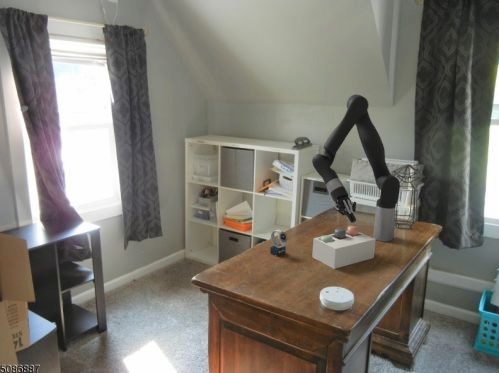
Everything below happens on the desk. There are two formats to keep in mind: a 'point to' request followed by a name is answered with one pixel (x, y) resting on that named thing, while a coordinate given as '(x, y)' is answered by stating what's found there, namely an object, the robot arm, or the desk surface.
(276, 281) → the desk surface
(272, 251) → the watch
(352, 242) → the button console
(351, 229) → the terracotta button
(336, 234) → the charcoal button
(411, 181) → the geometric lantern
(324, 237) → the sage button
